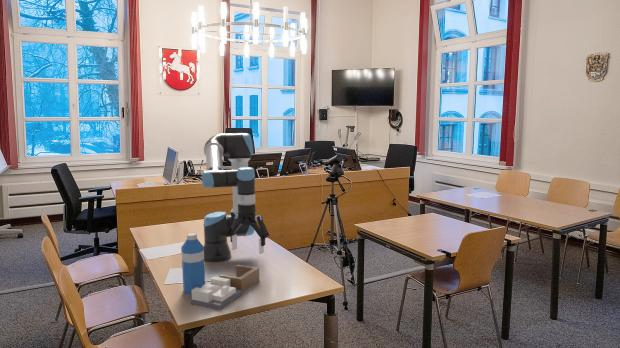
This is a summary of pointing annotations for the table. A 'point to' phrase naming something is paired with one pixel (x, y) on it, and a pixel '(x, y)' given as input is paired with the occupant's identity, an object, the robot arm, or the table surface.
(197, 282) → the water bottle
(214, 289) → the tray of white blocks
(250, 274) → the brown open crate
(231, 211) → the robot arm
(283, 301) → the table surface
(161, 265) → the table surface
